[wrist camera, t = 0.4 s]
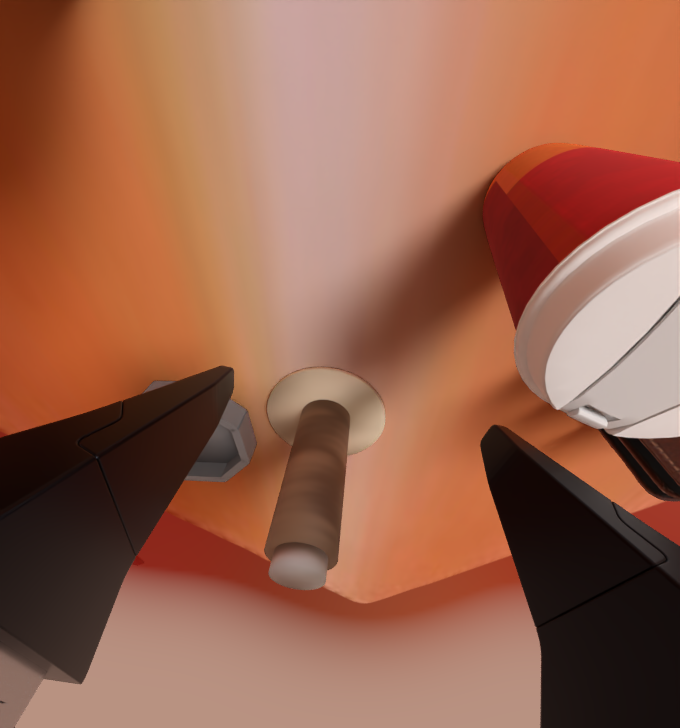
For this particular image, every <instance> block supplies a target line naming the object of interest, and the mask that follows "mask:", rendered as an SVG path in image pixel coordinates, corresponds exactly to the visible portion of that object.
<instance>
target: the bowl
mask: <svg viewBox="0 0 680 728" xmlns="http://www.w3.org/2000/svg"><path fill="white" fill-rule="evenodd" d="M174 382H176V381H153V383H152V384H151V385H150V386H149V387H148V388H147V389H146V390H145V391H144V392H143V393H145V392H148V391H151V390H154V389H157V388H160V387H162V386H165V385H168V384H171V383H174ZM143 393H142V394H143ZM256 445H257V442H256V438H255V435H254V431H253V428H252V424H251V421H250V418H249V414H248V411H246V409H245V408H243V407H242V406H240V405H239V404H237V403H235V402H234V401H232V400H231V399H230V400H229V402H228V404H227V406H226V409H225V411H224V413H223V415H222V417H221V420H220V422H219V424H218V426H217V428H216V430H215V431H214V433H213V435H212V436H211V438H210V440H209V441H208V443H207V444H206V446H205V448H204V449H203V451H202V452H201V454H200V455H199V457H198V459H197V460H196V462H195V463H194V465H193V467H192V468H191V470H190V471H189V473H188V475H187V476H186V478H185V479H184V480H192V481H212V482H227V481H228V480H229V479H230V478H232V477H233V476H234V475H235V474H237V473H238V472H239V471H240V470H242V469H243V468H244V467H245V466H247V465H248V464H249V463H250V460H251V458H252V455H253V453H254V450H255V448H256Z"/></svg>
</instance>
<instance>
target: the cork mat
mask: <svg viewBox="0 0 680 728" xmlns="http://www.w3.org/2000/svg"><path fill="white" fill-rule="evenodd" d="M315 400H331V401H334V402H337V403H339V404H340V405H342V406H343V407H344V408H345V409H346V410H347V411H348V413H349V415H350V429H349V440H348V452H347V456H348V455H352V454H356V453H358V452H361V451H363V450H365V449H367V448H368V447H370V446H371V445H372V444H373V443H375V442H376V441H377V439H378V438H379V437H380V435H381V433H382V432H383V429H384V426H385V408H384V404H383V402H382V399H381V398H380V396H379V394H378V393H377V392H376V390H375V389H374V388H373V387H372V386H371V385H370V384H369V383H367V382H366V381H365V380H363V379H362V378H360V377H358V376H356V375H355V374H352V373H350V372H347V371H344V370H340V369H336V368H330V367H311V368H305V369H301V370H298V371H295V372H293V373H291V374H289V375H287V376H285V377H284V378H283V379H282V380H280V381H279V382H278V383H277V384H276V386H275V387H274V389H273V390H272V392H271V395H270V397H269V400H268V404H267V413H268V418H269V421H270V423H271V425H272V427H273V429H274V430H275V432H276V433H277V434H278V435H279V436H280V437H281V438H282V439H283V440H284V441H285V442H287V443H288V444H290V445H291V446H292V445H293V442H294V438H295V434H296V431H297V427H298V423H299V420H300V416H301V412H302V410H303V408H304V407H305V406H306V405H307V404H308V403H310V402H312V401H315Z"/></svg>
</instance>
